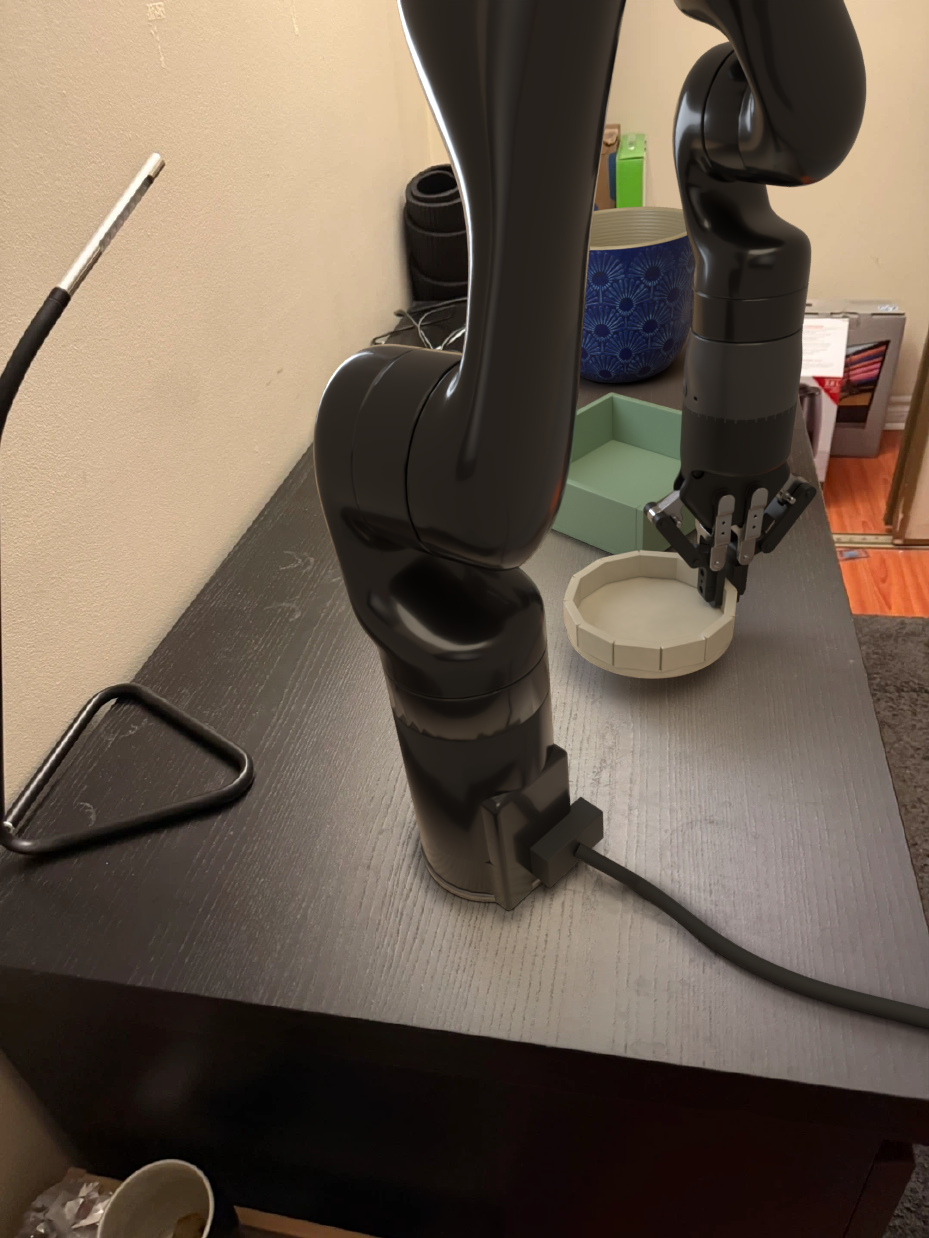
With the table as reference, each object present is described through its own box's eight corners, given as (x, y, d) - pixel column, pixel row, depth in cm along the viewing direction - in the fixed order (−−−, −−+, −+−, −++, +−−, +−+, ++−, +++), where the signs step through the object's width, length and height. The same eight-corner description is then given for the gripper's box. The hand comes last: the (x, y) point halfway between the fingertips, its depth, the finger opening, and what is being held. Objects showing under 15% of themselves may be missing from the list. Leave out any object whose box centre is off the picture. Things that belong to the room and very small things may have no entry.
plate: (766, 619, 67) (770, 588, 65) (665, 703, 60) (666, 671, 58) (634, 563, 75) (635, 534, 73) (533, 632, 68) (531, 602, 67)
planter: (553, 347, 130) (547, 213, 118) (692, 340, 125) (699, 200, 114) (540, 402, 114) (531, 253, 102) (698, 396, 109) (707, 240, 98)
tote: (756, 484, 90) (762, 431, 86) (642, 566, 80) (643, 511, 76) (611, 440, 102) (611, 392, 99) (497, 506, 92) (492, 455, 89)
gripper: (668, 431, 54) (659, 645, 64) (862, 393, 55) (823, 608, 65) (625, 391, 60) (623, 592, 70) (801, 358, 61) (774, 559, 71)
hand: (720, 599), depth 68 cm, fingers closed on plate, 1 cm apart
